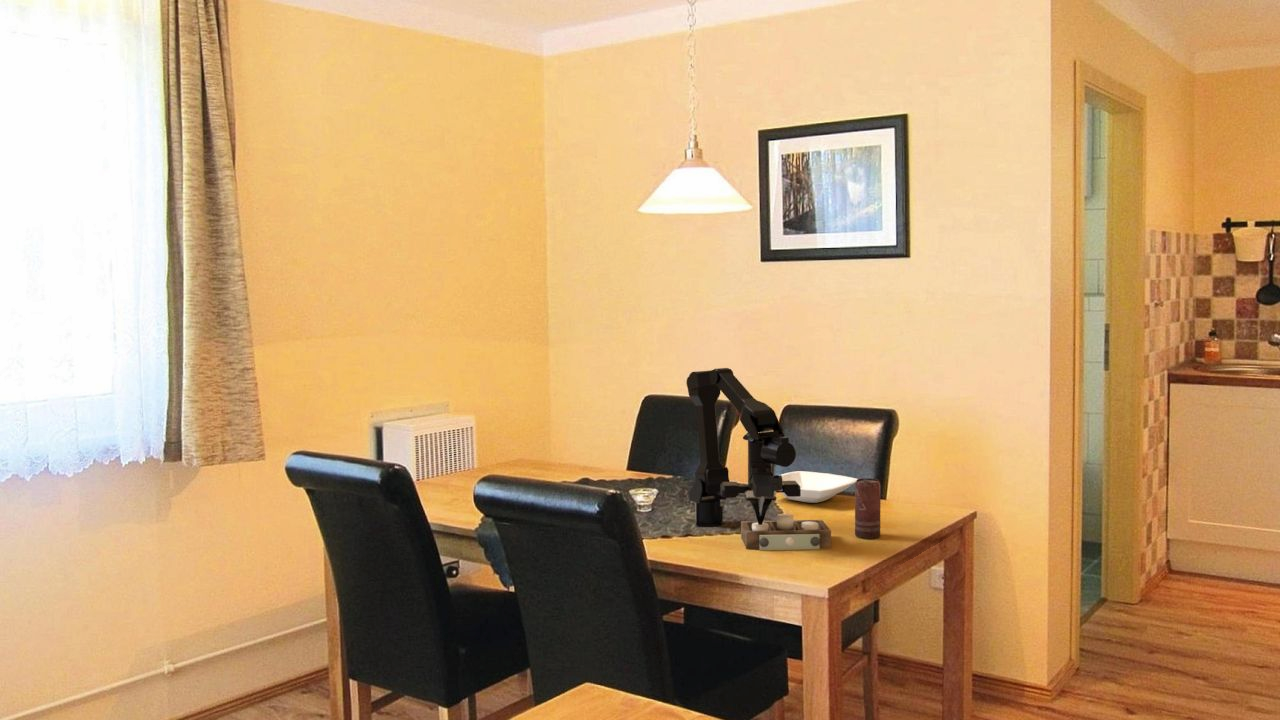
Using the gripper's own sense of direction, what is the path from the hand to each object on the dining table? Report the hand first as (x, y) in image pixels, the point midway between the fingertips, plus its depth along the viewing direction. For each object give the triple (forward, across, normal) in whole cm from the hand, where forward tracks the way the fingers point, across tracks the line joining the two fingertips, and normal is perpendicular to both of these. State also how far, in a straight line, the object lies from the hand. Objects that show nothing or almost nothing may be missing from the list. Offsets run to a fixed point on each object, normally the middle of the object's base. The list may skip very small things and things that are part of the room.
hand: (760, 524), depth 264 cm
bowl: (+5, +20, +46) cm, 50 cm away
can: (+5, +27, +4) cm, 28 cm away
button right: (+3, +12, 0) cm, 12 cm away
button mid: (+1, +6, 0) cm, 6 cm away
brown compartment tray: (+4, +6, 0) cm, 8 cm away
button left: (+3, 0, 0) cm, 3 cm away
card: (+4, +6, -7) cm, 10 cm away
